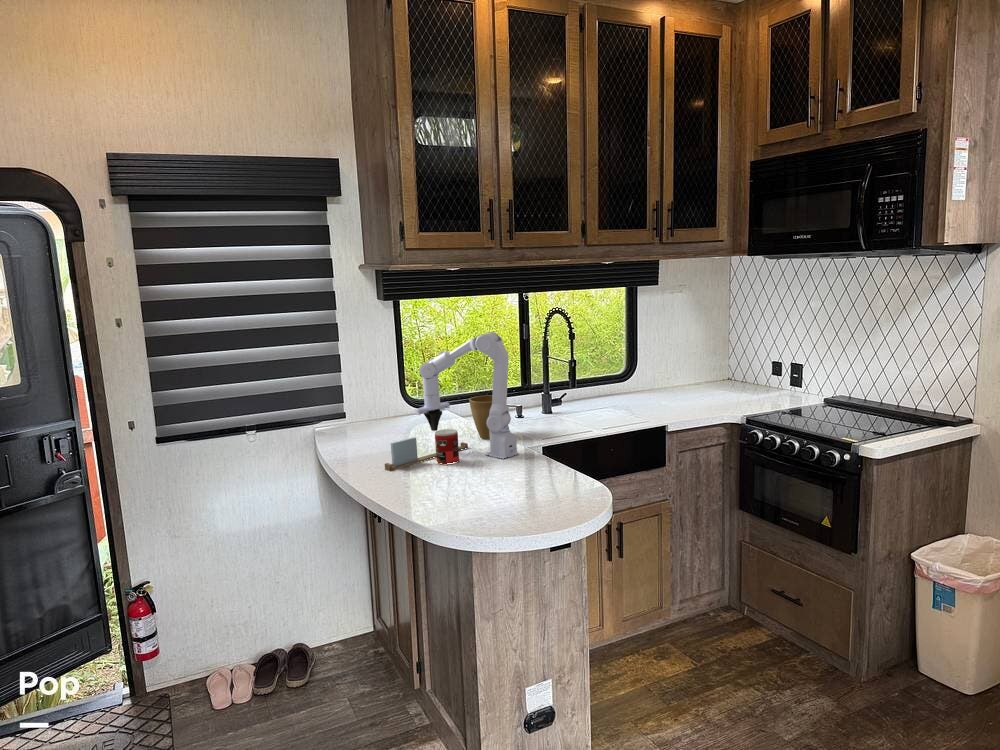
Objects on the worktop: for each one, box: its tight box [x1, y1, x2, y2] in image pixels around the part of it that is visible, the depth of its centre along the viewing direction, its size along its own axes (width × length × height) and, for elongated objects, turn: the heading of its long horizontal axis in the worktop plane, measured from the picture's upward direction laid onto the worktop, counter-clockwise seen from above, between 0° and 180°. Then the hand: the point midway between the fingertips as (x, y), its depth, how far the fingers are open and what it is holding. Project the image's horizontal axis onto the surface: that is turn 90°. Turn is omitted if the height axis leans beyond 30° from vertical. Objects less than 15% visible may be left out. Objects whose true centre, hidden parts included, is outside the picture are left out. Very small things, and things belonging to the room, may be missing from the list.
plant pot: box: [468, 394, 492, 440], centre depth 274 cm, size 15×15×16 cm
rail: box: [384, 442, 469, 472], centre depth 249 cm, size 3×35×2 cm, turn 133°
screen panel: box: [390, 436, 419, 466], centre depth 242 cm, size 2×10×8 cm, turn 133°
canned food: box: [434, 428, 460, 464], centre depth 243 cm, size 8×8×11 cm
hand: (434, 430), depth 256 cm, fingers closed
